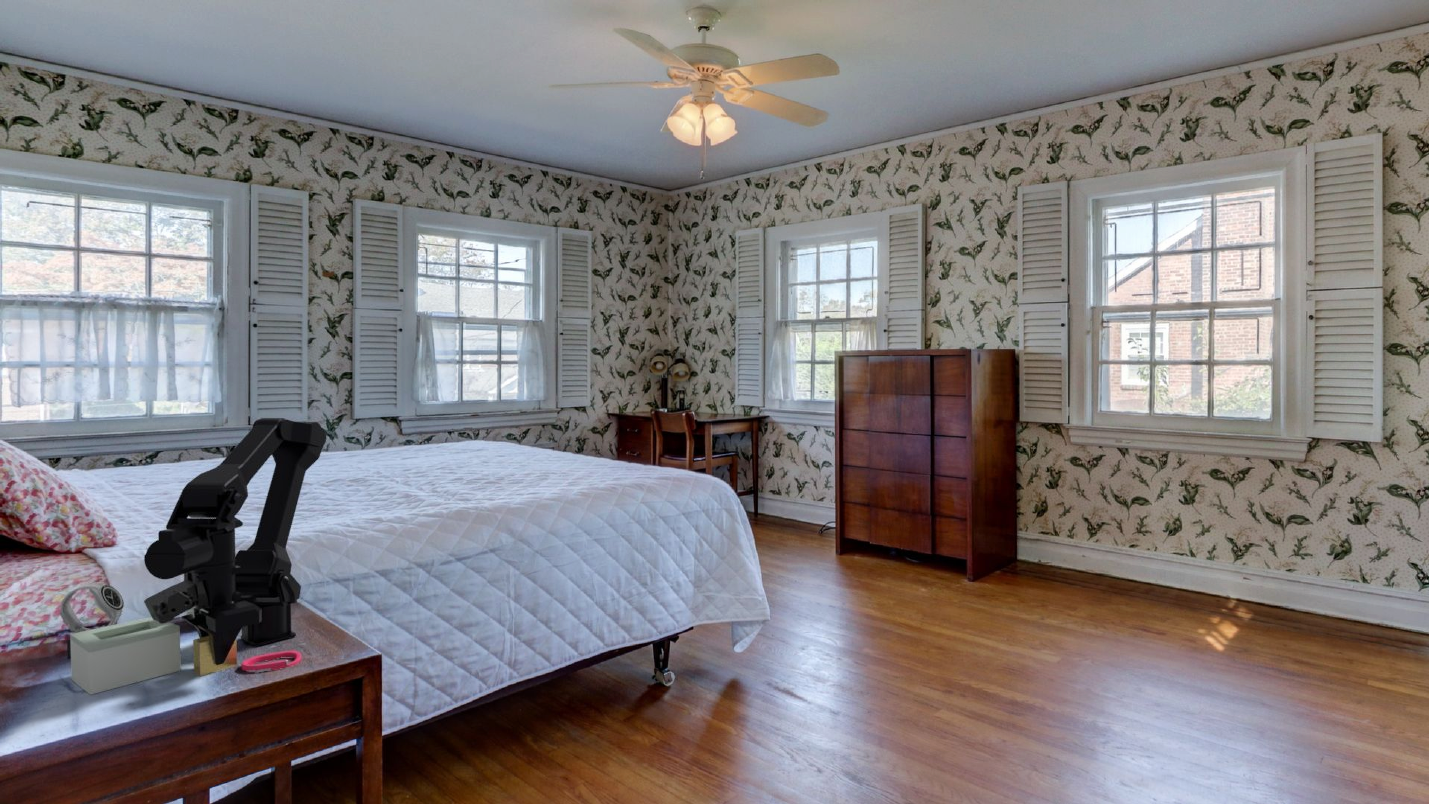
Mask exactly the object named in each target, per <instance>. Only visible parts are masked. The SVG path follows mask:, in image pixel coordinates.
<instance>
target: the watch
mask: <svg viewBox="0 0 1429 804" xmlns="http://www.w3.org/2000/svg"><path fill="white" fill-rule="evenodd" d="M81 590H88V591H89V593H91V595H92V596H93V600H94V603H95V604H96V606H97V607H98V609H100V611H102V612H104V613H105V614H107V616H108V617H109V619H111V620H110V622H109V623H108V624H107V626H111V625H115V624H116V623H117V622H118V621H119V620H120V617H121V616H122V612H123V609H124V607H125V604H124V602H125V601H124V599H123V596H122V595H121V594H120V592H119V591H118V590H117V589H116V588H115V587H114V586H111V585H109V584H103V583H97V582H96V583H88V584H84V585H82V586H79V587H77V588H75V589H73V590H72V591H70V592H69V593H67V594H66V595H65V596H64V598H63V599H62V600H61V603H60V610H59V614H60V617H61V619H62V621H63V623H64V624H65V626H66V627H67V628H68V629H69V630H70V631H71V632H72V633H78V632H83V631H87V630H92V629H97V628H98V627H90V628H87V627H85V626H83V624H84V623H83V622H81V620H80V619H79V618H78V615H76V613H75V610H74V609H73V608H72V604H71V601H72V600H71V599H72V598H73V596H74V595H75V594H76V593H77V592H78V591H81ZM66 651H67V652H66V653H67V660H71V643H70V638H68V639H66Z"/></svg>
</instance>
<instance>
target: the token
mask: <svg viewBox="0 0 1429 804" xmlns="http://www.w3.org/2000/svg"><path fill="white" fill-rule="evenodd" d="M192 643H193V644H192V645H193V646H192V650H193V655H192V656H193V673H194V674H196V675H198V676H199V677H202V676H205V675H210V674H213V673H216V672H219V671H223V670H227V669H230V668H235V667H237V666H238V654H237V653H238V649H237V647H238V646H237V645H238V643H237V639H236V640H235V642H234V644H233V646H232V648H231V650H230V652H229V654H228V656H227V658H226V660H225V662H224V663H223V664H220V665H215V662H214V658H213V654H212V648H211V643H210V638H209V636H206V637H202V638H194V639H193V640H192Z"/></svg>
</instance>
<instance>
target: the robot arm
mask: <svg viewBox="0 0 1429 804" xmlns="http://www.w3.org/2000/svg"><path fill="white" fill-rule="evenodd" d="M326 443H327V432H326V429H324V428H323V427H322V425H321V424H320V423H318V421H293V420H289V419H286V418H285V417H261V418H260V419H256V420H255V421H254V423H252V428H251V429H250V430H249V432H248V433H247V434H246V435H245V437H243V438H242V440H240V441H239V443H238V444H237V445H236V446H235V447H234V448H233V449H232V451H231V452H230V453H229V454H228V455H227V456H226V457H225V458H224V460H223V461H222V462H221V463H220V464H218V465H217V466H216V467H215V468H212V469H209V470H207V471H204V472H201V473H200V474H198V475H196V477H194V478H192V479H191V480H190V481H189V482H188V483H186V485H185V486H184V487H183V489H182V491H181V493H180V495H179V498H178V500H177V502H176V504H175V506H174V509H173V510H172V512H171V515H170V516H169V519H168V521H167V524H166V525H165V528H166V529H162V530H160V531H158V534H157V535H158V539H157V540H155V541H154V542H152V543H151V544H150V545H148V548H147V549H146V553H145V555H144V557H143V558H144V559H143V560H144V565H145V567H146V570H147V571H148V572H149V574H150V575H152V577H155V578H157V579H159V580H170V579H174V578H176V577H179V576H183V580H182V581H180V582H179V583H176V584H173V585H171V586H168V587H167V588H165V589H162V590H161V591H159V592H157V593H154V594H153V595H151V596H149V597H147V598H146V599H145V600H144V601H143V604H144V605H145V606H146V609H147V610H148V613H149V615H150V617H152V618H153V620H156V621H158V622H159V623H161V624H164V623H167V622H169V621H170V622H171V621H173V620H175V617H178V616H180V615H182V614H183V613H185V612H187V614H186V615H182V616H181V619H182V620H184V621H186V622H187V623H189V624H190V625H191V626H194V628H195V629H196V632H197V635H198V637H199V638H202V637H206V636H209V638H210V643H211V648H212V654H213V658H214V662H215V665H220V664H223V663H224V662H225V660H226V658H227V656H228V654H229V652H230V650H231V648H232V646H233V644H234V642H235V640H236V641H237V639H238V636H239V634H240V633H241V636H240V639H241V640H243V641H245V642H246V643H249V644H251V645H252V646H255V647H259V646H263V645H267V644H271V643H274V642H278V641H282V640H283V641H284V640H285V639H290V638H293V637H294V638H295V637H296V636H297V632H295V631H293V630H292V604H296V603H297V602H298V600H299V599H300V596H301V591H302V590H301V589H302V585H300V583H299V582H298V581H297V579H296V578H295V577H294V576H293V575H292V574H291V572H292V571H291V570H292V565H293V564H292V562H291V558H290V556H289V554H288V551H287V545H288V541H289V537H290V533H291V529H292V525H293V522H294V517H295V513H296V510H297V506H298V502H299V499H300V495H301V494H300V493H301V492H302V487H303V483H304V480H305V475H306V472H307V470H309V469H310V467H312V466H313V465H314V464H315V463H316V462H317V461H318V460H319V459H320V457H321V454H322V451H323V449H324V446H325V444H326ZM271 456H272V458H273V461H274V462H275V465H274V466H275V467H274V470H273V474H272V476H271V477H272V478H271V481H270V484H269V488H268V491H267V495H266V498H265V502H264V506H263V509H262V512H261V516H260V520H259V522H258V523H259V524H258V528H257V530H256V534H255V538H254V540H253V543H252V544H251V545H250V546H249V547H247V549H240V550H238V551H237V553H236V529H238V528H241V527H243V526H244V524H243V523H244V522H243V521H241V520H240V519H239V518H237V517H236V515H238V513H239V512H240V510H241V509H242V507H243V505H244V504H245V502H246V500H247V499H248V497H249V492H248V485H249V484H250V482H251V481H252V479H253V478H254V477H255V475H257V473H258V472H259V471H260V469H261V468H262V467H263V466H264V465H265V463H266V462H267V461H268V460H269V459H270V457H271ZM233 601H234V603H232V602H233Z"/></svg>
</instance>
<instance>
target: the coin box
mask: <svg viewBox="0 0 1429 804" xmlns="http://www.w3.org/2000/svg"><path fill="white" fill-rule="evenodd" d="M96 628H97V629H92V630H87V631H83V632H78V633H76V632H72V633H70V634H69V636H70V643H71V659H70V667H71V668H70V670H71V673H70V674H71V681H73V682H74V683H75V684H76V685H78V686H79V687H80V688H82V690H84V691H85V692H87V694H89V695H95V694H98V693H102V692H105V691H110V690H113V689H117V688H120V687H124V686H128V685H132V684H136V683H138V682H139V683H140V682H142V681H147V680H151V679H153V678H157V677H161V676H165V675H170V674H173V673H176V672H181V670H182V668H181V667H182V666H181V637H180V636H181V631H180V630H181V628H180V625H178V624H176V623H174V622H171V621H169V622H167V623H164V624H161V623H159V622H158V621H156V620H153V618H152V616H150V617H149V616H148V617H145V618H140V619H135V620H131V621H130V620H129V621H126V622H120V623H117V624H116V623H115V624H114V625H111V626H108V625H107V626H102V627H101V626H100V627H96Z"/></svg>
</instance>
